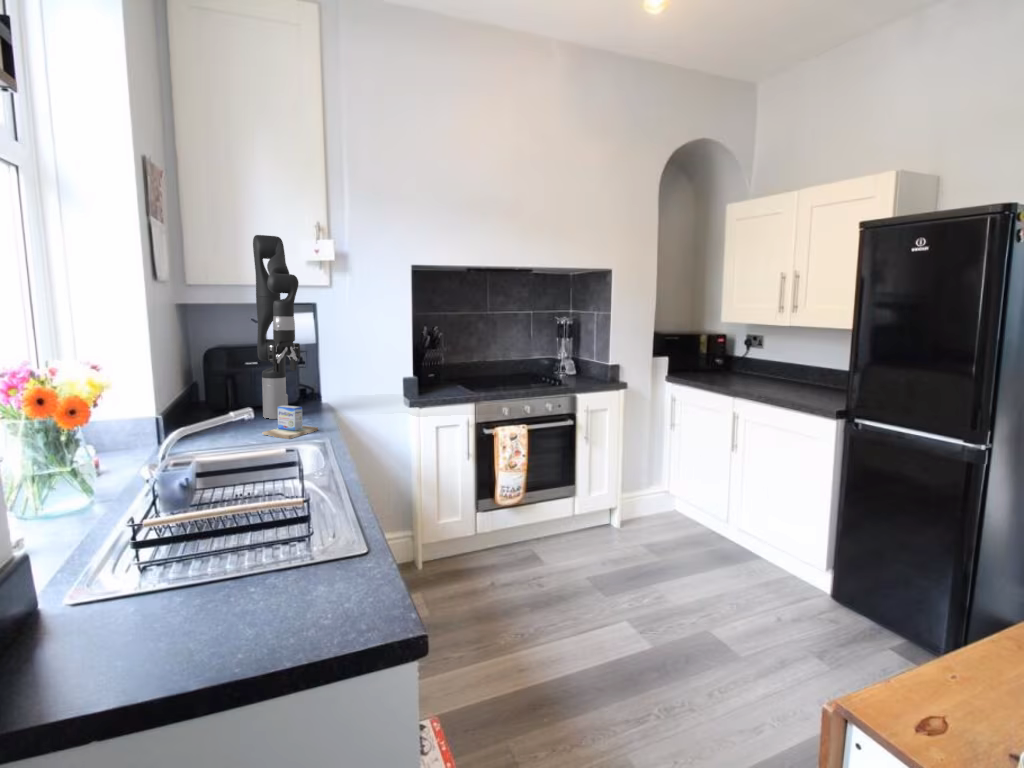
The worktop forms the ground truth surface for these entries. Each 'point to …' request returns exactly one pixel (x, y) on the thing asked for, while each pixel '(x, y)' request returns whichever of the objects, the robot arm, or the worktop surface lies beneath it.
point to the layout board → (290, 432)
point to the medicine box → (289, 418)
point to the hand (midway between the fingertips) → (285, 371)
